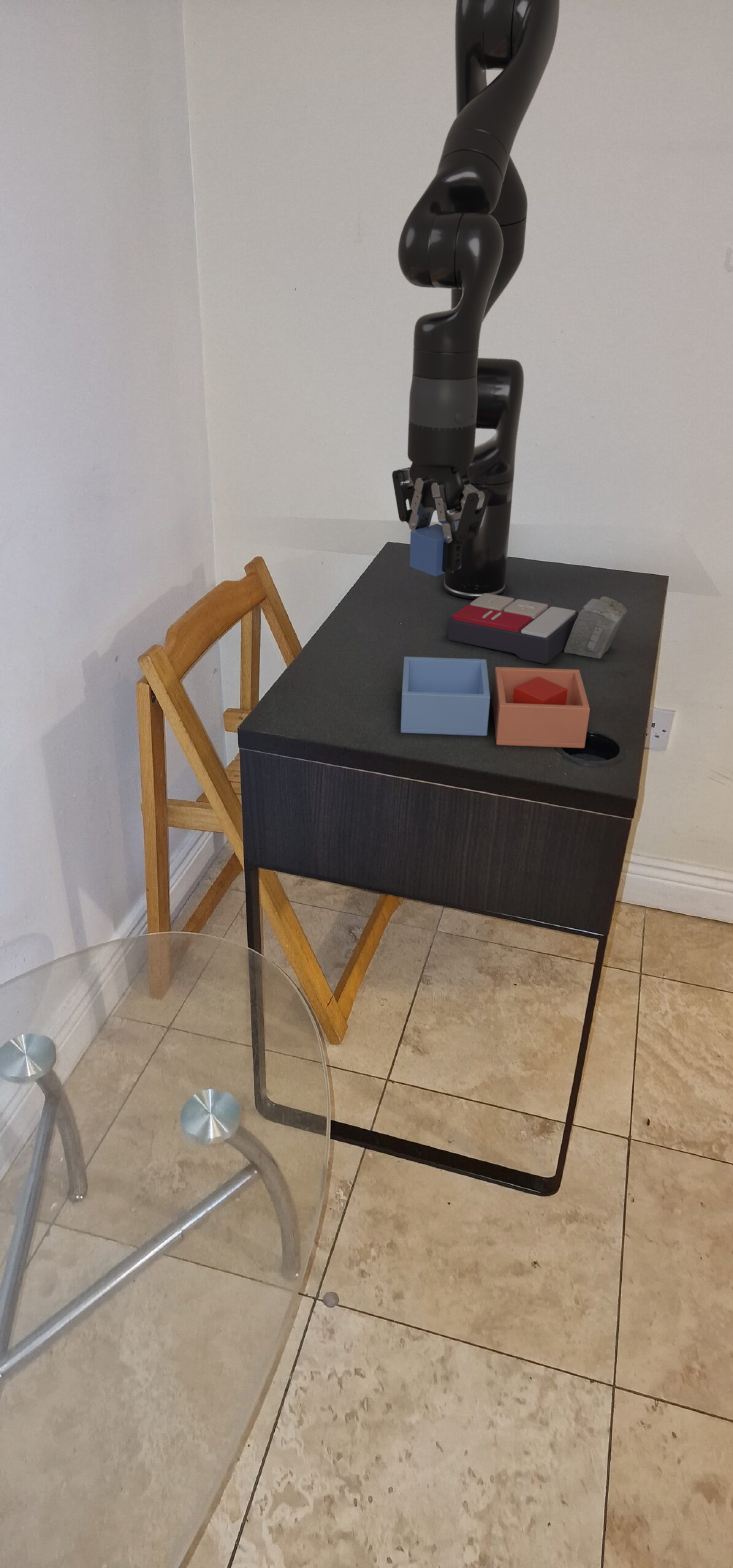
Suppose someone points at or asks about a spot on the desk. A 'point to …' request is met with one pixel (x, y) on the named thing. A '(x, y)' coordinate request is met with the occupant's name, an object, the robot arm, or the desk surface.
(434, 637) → the desk surface
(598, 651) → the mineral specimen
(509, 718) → the red bin
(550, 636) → the grey tray with pads
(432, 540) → the blue block
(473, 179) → the robot arm
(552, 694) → the red block
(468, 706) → the blue bin
